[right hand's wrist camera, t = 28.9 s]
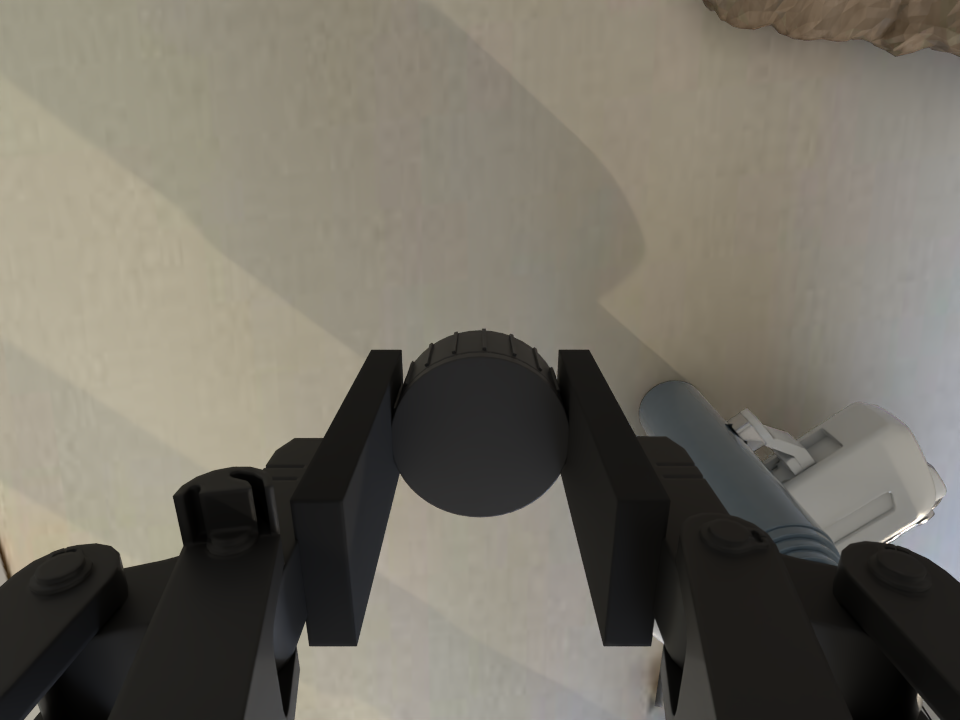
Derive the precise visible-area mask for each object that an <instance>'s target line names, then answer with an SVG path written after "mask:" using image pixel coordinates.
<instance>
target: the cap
mask: <svg viewBox="0 0 960 720" xmlns="http://www.w3.org/2000/svg"><path fill="white" fill-rule="evenodd" d="M560 392H561V390H560V387H559V385H558V382H557V379H556V376H555V373H554V370H553V368H552V367H551V368H550V367H549V366H548V364H547V363H546V361H545V360H544V359H543V358H542V357H541V356H540V355H539V354H538V352H537V349H536V348H535V347H534V348H531V347H530V346H529V345H527V344H526V343H524V342H522V341H521V340H518V339H516V338H514V336H513V335H512V334H510V335H506V334H503V333H498V332H493V331H486V329H482V330H479V331H467V332H462V333H458V332H454V335H451V336H448V337H446V338H444V339H442V340H440V341H438V342H437V343H435V344H433V343H431V344H430V345H429V348H428V349H427V350H426V351H424V352H423V353H422V354H421V355H420V356H419V357H418V359H417V360H416V361H415V362H413V361H412V362H411V364H410V367H409V371H408V374H407V376H406V378H405V381H404V384H401V387H400V390H399V393H398V396H397V399H396V402H395V405H394V411H395V412H394V415H393V418H392V424H391V426H392V444H393V458H394V462H395V464H396V466H397V468H398V471H399V472H400V474H401V476H402V477H403V479H404V480H405V482H406V483H407V484H408V485H409V486H410V488H411V489H412V490H413V491H414V492H415V493H417V494H418V495H419V496H420V497H421V498H423V499H424V500H425V501H427V502H428V503H430V504H432V505H434V506H435V507H437V508H440V509H442V510H444V511H447V512H450V513H453V514H457V515H462V516H468V517H492V516H498V515H504V514H507V513H511V512H514V511H516V510H519V509H521V508H523V507H525V506H527V505H529V504H531V503H532V502H534V501H535V500H537V499H538V498H539V497H541V496H542V495H543V494H544V493H545V492H546V491H547V490H548V489H549V488H550V487H551V486H552V485H553V483H554V482H555V481H556V480H557V478H558V476H559V475H560V473H561V472H562V470H563V467H564V465H565V463H566V460H567V450H568V433H569V419H568V416H567V413H566V410H565V407H564V404H563V401H562V398H561V395H560Z"/></svg>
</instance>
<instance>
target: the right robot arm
mask: <svg viewBox="0 0 960 720" xmlns="http://www.w3.org/2000/svg"><path fill="white" fill-rule="evenodd" d="M557 382H558V385H559V387H560V390H561V392H560V395H561V398H562V401H563V404H564V407H565V410H566V413H567V416H568V419H569V433H568V450H567V460H566V463H565V465H564V467H563V470H562V472H561V477H562V481H563V485H564V489H565V493H566V497H567V501H568V505H569V509H570V513H571V517H572V521H573V525H574V529H575V533H576V537H577V541H578V545H579V549H580V553H581V557H582V561H583V565H584V569H585V573H586V577H587V581H588V585H589V589H590V593H591V597H592V601H593V606H594V610H595V614H596V618H597V622H598V626H599V630H600V634H601V638H602V642H603V646H651V643H652V636H653V628H654V621H655V620H656V623H657V626H658V628H659V631H660V634H661V636H662V639H663V642H664V646H663V653H662V660H661V667H660V674H659V680H658V687H657V694H656V701H655V706H658V707H662V706H663V701H664V708H665V717H666V720H929V719H928V717H927V716H926V715H925V714H924V713H923V711H922V710H921V707H922V705H923V702H924V701H925V702H926V704H927V705H928V706H929V707H930V708H931V709H932V711H933V712H934V713H935V714H936V715H937V716H938V718H939V719H940V720H960V583H959V582H958V581H957V580H956V579H955V578H954V577H952V576H951V575H950V574H949V573H948V572H947V571H945V570H944V569H942V568H941V567H939V566H938V565H936V564H935V563H933V562H932V561H931V560H929V559H927V558H925V557H923V556H921V555H919V554H917V553H914V552H912V551H911V550H909V549H906V548H903V547H900V546H894V545H893V544H888V543H882V542H871V541H862V542H856V543H851V544H849V545H848V546H847V547H845V548H844V549H843V550H842V552H841V555H840V559H839V563H838V566H835V565H830V564H825V563H820V562H815V561H810V560H805V559H800V558H796V557H792V556H789V555H785V554H781V553H780V552H779V550H778V547H777V545H776V544H775V542H774V541H773V540H772V538H771V537H770V536H769V534H768V533H766V532H765V531H764V530H762V529H761V528H759V527H758V526H756V525H755V524H753V523H751V522H749V521H746V520H744V519H742V518H739V517H737V516H732V515H730V514H729V513H728V511H727V510H726V508H725V507H724V505H723V504H722V503H721V501H720V500H719V498H718V497H717V495H716V494H715V492H714V491H713V489H712V488H711V486H710V485H709V484H708V482H707V481H706V479H705V478H703V475H702V473H701V472H700V470H699V469H698V467H697V466H695V463H694V462H693V460H692V459H691V457H690V456H689V454H688V453H687V451H686V450H685V449H684V448H683V447H681V446H680V445H678V444H677V443H675V442H674V441H672V440H671V439H669V438H668V437H666V436H636V435H635V434H634V432H633V430H632V428H631V426H630V424H629V423H628V421H627V419H626V417H625V415H624V413H623V411H622V410H621V408H620V406H619V404H618V402H617V400H616V399H615V397H614V395H613V393H612V391H611V389H610V388H609V386H608V384H607V382H606V380H605V378H604V377H603V375H602V373H601V371H600V369H599V367H598V365H597V364H596V362H595V360H594V358H593V356H592V354H591V353H590V351H589V350H559V356H558V376H557ZM401 384H403V369H402V350H371V351H370V353H369V355H368V357H367V359H366V361H365V362H364V364H363V366H362V368H361V370H360V372H359V374H358V375H357V377H356V379H355V381H354V383H353V385H352V386H351V388H350V390H349V392H348V394H347V396H346V397H345V399H344V401H343V403H342V405H341V407H340V409H339V410H338V412H337V414H336V416H335V418H334V420H333V421H332V423H331V425H330V427H329V429H328V431H327V432H326V434H325V436H324V438H294V439H293V440H291V441H290V442H288V443H287V444H285V445H284V446H282V447H281V448H279V449H278V450H276V451H275V453H274V454H273V456H272V457H271V459H270V460H269V462H268V463H267V465H266V468H264V469H263V470H261V469H257V468H253V467H230V468H224V469H219V470H214V471H211V472H209V473H206V474H203V475H200V476H198V477H196V478H194V479H192V480H191V481H189V482H188V483H186V484H184V485H183V486H181V488H180V489H179V490H178V491H177V492H176V493H175V494H174V495H173V499H174V504H175V508H176V513H177V518H178V522H179V527H180V531H181V536H182V541H183V545H184V546H183V548H182V551H181V553H180V555H179V556H177V557H174V558H170V559H166V560H162V561H157V562H152V563H148V564H143V565H138V566H133V567H128V568H123V565H122V561H121V557H120V554H119V552H117V551H116V550H115V549H114V548H113V547H112V546H108V545H102V544H97V543H95V544H84V545H76V546H71V547H67V548H65V549H64V548H63V549H60V550H57V551H54V552H52V553H50V554H48V555H46V556H44V557H42V558H39V559H37V560H35V561H33V562H32V563H30V564H29V565H27V566H26V567H24V568H23V569H21V570H20V571H19V572H17V573H16V574H14V575H13V576H12V577H11V578H10V579H9V580H7V581H6V582H5V583H4V584H3V585H2V586H1V587H0V720H24V719H25V718H26V716H27V715H28V714H29V713H30V712H31V711H32V709H33V708H34V707H35V706H36V705H37V703H38V706H39V709H40V713H39V714H38V715H37V716H36V717H35V719H34V720H294V719H295V709H296V700H297V691H298V682H299V673H300V667H299V660H298V653H297V643H298V640H299V638H300V635H301V632H302V630H303V627H304V624H305V621H306V626H307V633H308V640H309V646H357V643H358V639H359V635H360V631H361V627H362V623H363V619H364V615H365V611H366V607H367V603H368V599H369V595H370V591H371V587H372V583H373V579H374V575H375V571H376V567H377V563H378V559H379V555H380V551H381V547H382V542H383V538H384V534H385V530H386V526H387V522H388V518H389V514H390V510H391V506H392V502H393V498H394V494H395V490H396V486H397V482H398V478H399V474H400V472H399V471H398V468H397V466H396V464H395V462H394V458H393V444H392V426H391V424H392V418H393V415H394V412H395V411H394V405H395V402H396V399H397V396H398V393H399V390H400V387H401Z"/></svg>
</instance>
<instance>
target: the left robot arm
mask: <svg viewBox="0 0 960 720" xmlns="http://www.w3.org/2000/svg"><path fill="white" fill-rule="evenodd" d="M727 423H728V424H729V425H730V427H731V428H732V429H733V430H734V431H735V432H736V433H737V434H738V436H739V437H740V438H741V439H742V440H743V441H744V442H745V443H746V444H747V445H748V446H749V447H750V449H751V450H752V451H753V452H754V451H755V450H757V449H759V448H760V447H762V446H763V445H764V446H767V447H770V448H771V449H772V450H773V451H774V453H775V454H774V455H772V456H771V457H769V458H768V459H766V460H764V461H763V463H764V464H765V465H766V466H767V468H768V469H769V470H770V471H771V472H772V473H773V474H774V475H775V476H776V478H777V479H778V480H779V481H780V482H781V483H782V484H783V485H784V486H785V488H786V489H787V490H788V491H789V492H790V493H791V494H792V495H793V497H794V498H795V499H796V500H797V501H798V502H799V503H800V504H801V505H802V507H803V508H804V509H805V510H806V511H807V512H808V513H809V514H810V515H811V517H812V518H813V519H814V520H815V521H816V522H817V523H818V524H819V526H820V527H821V528H822V529H823V530H824V531H825V532H826V533H827V534H828V536H829V537H830V538H831V539H832V541H833V542H834V544H835V547H836V548H837V550H838V551H839V553H840V555H841V552H842V550H843V549H844V548H845V547H847V546H848V545H849V544H851V543H856V542H862V541H871V542H882V543H888V544H889V543H890V542H892V541H894V540H895V539H897V538H898V537H899V536H901V534H903V533H904V532H905V531H907V530H909V529H911V528H913V527H914V526H919V525H921V524H923V523H925V522H926V521H928V520H929V519H930V518H932V517H933V515H934V512H933V509H934V508H935V507H936V506H937V505H938V504H939V503H940V501H941V500H942V498H943V497H944V496H945V495H946V486H945V484H944V483H943V481H942V479H941V478H940V476H939V475H938V473H937V472H936V470H935V469H934V467H933V466H932V465H931V464H929V463H928V462H927V461H926V459H925V457H924V454H923V452H922V450H921V448H920V446H919V444H918V442H917V440H916V439H915V437H914V435H913V433H912V432H911V430H910V429H909V428H908V427H907V425H905V424H904V423H903V422H902V421H901V420H899V419H898V418H897V417H895V416H894V415H892V414H891V413H889V412H888V411H886V410H885V409H883V408H881V407H879V406H877V405H873V404H868V403H863V402H855V403H853V404H851V405H849V406H847V407H846V408H844V409H843V410H841V411H840V412H838V413H837V414H835V415H834V416H832V417H831V418H829V419H828V420H826V421H824V422H823V423H821V424H820V425H818V426H817V427H815V428H814V429H812V430H811V431H809V432H808V433H806V434H804V435H803V436H801V437H800V438H798V439H797V440H795V439H794V438H793V437H792V436H791V435H790V434H789V433H788V432H785V431H782V430H779V429H776V428H772V427H769V426H766V425H763V424H762V423H761V422H760V420H759V419H758V418H757V417H756V416H755V415H754V414H753V413H752V412H751V411H750V410H749V409H748V408H746V409H744V410H743V411H741V412H740V413H738V414H737V415H736V416H734V417H733V418H731V419H730V420H728V421H727ZM653 636H654V637H655V638H657V639H658V640H659V641H661V642H662V643H663V644H664V642H663V639H662V636H661V634H660V631H659V628H658V626H657V623H656V620H655V621H654V628H653ZM921 710H922V711H923V713H924V714H925V715H926V716H927V717H928V719H929V720H940V719H939V718H938V716H937V715H936V714H935V713H934V712H933V711H932V709H931V708H930V707H929V706H928V705H927V704H926V702H925V701H924V702H923V705H922V707H921Z"/></svg>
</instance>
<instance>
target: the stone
mask: <svg viewBox="0 0 960 720" xmlns="http://www.w3.org/2000/svg"><path fill="white" fill-rule="evenodd" d="M703 2H704V4H705V6H706V7H707V8H708V9H709V10H710V11H716V13H717V14H718V16H719V18H720V19H721V20H723V21H726V22H727V23H729V24H730V25H732V26H733V27H737V28H742V29H753V30H754V29H758V28H761V27H764V26H769V25H772V26H773V27H774V28H775V29H776V30H777V31H778V32H779V33H780V34H783V35H786V36H788V37H790V38H792V39H800V40H817V39H825V40H831V41H848V40H850V39H853V40H859V39H863V40H866V41H869V42H871V43H872V44H873V45H874V46H877V47H879V48H881V49H884V50H886V51H887V52H889V53H891V54H892V55H894V56H895V57H896V56H900V55H904V54H909V53H913V52H915V51H918V50H921V49H924V48H928V47H929V48H931V49H932V50H937V51H942V52H949V53H952V54H955V55H957V56H959V57H960V0H703Z"/></svg>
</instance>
